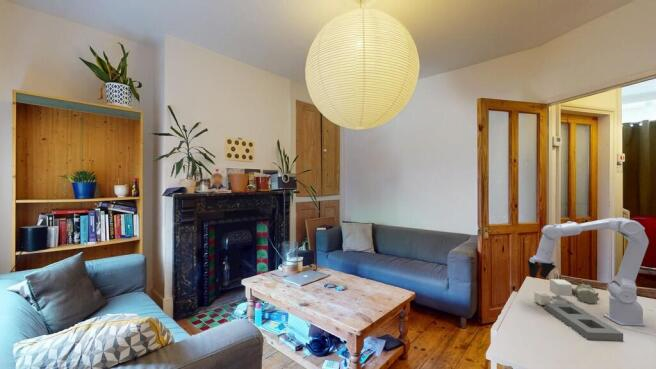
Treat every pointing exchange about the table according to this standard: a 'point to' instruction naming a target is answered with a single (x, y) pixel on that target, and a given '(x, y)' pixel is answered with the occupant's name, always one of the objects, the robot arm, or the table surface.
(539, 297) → the plug
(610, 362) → the table surface
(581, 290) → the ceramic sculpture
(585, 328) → the socket board
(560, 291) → the security camera
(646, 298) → the table surface
